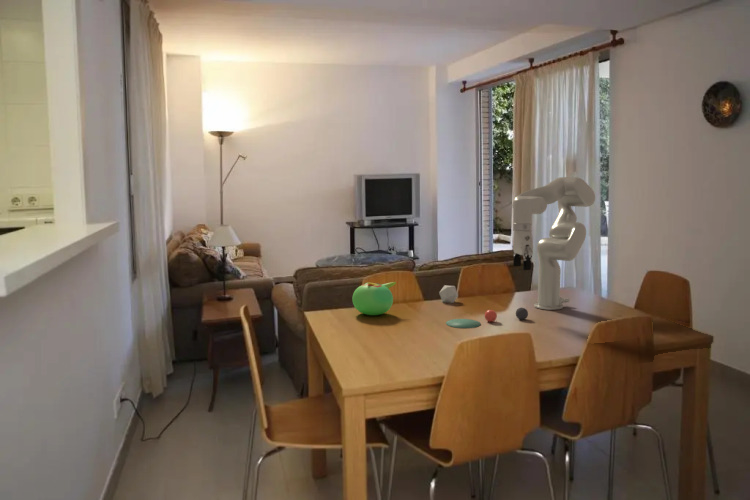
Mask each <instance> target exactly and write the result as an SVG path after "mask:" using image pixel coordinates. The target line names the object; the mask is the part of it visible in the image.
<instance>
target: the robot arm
mask: <svg viewBox="0 0 750 500" xmlns="http://www.w3.org/2000/svg"><path fill="white" fill-rule="evenodd" d="M595 201H596V194H595V191H594V189H593V188H592V187H591V186H590V185H589V184H588V183H587V182H586V180H584V179H582V178H581V177H578V176H575V177H574V176H572V177H571V176H562V177H557V178H555V179H554V180H552V181H550V182H549V183H547V184H544V185H543V186H538V187H536V188H532V189H529V190H526V191H523V192H521V193H519V194H518V195H516V197H515V198H514V199H513V201H512V209H513V210H512V211H513V212H512V213H513V215H512V218H513V219H512V220H513V221H512V231H513V240H512V246H511V247H512V253H513V254H512V257H513V264H512V265H513V266H514V267H520V266H521V265H522V270H523V271H531V269H532V257H533V254H534V245H533V243H534V242H533V234H532V231H533V229H532V228H533V215H540V214H541V215H542V214H543V213H545V212H546V210H547V207H548V205H551V204H555V203H556V202H557V208H558V215H557V216H556V219H555V220H554V222H553V223H552V226H551V227H550V229H549V231H548V232H549V233H548V235H549V236H548V237H545V238H541V239H540V240H539V241H538V242H537V245H536V253H537V258H538V281H537V283H538V284H537V302H535V303H534V304H533V306H534V307H535V308H536V309H540V310H548V311H557V310H562V309H563V308H564V303H570V298H569V297H565V298H564V297H561V271H562V270H561V266H560V264H559V262H558V261H564V262H571V261H573V260H575V258H576V257H577V255H578V254H579V251H580V250H581V248H582V246H583V244H584V242H585V240H586V237H587V229H586V225H584V224H583V223H582V222H577V214H576V212H575V210H574V209H573V207H578V208H579V207H581V208H582V207H583V208H586V207H588V208H589V207H591V206H593V205H594V203H595ZM522 257H523V260H522Z"/></svg>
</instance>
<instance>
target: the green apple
mask: <svg viewBox="0 0 750 500" xmlns="http://www.w3.org/2000/svg"><path fill="white" fill-rule="evenodd" d="M396 284H397V282H396V281H393V282H388V283H387V282H386V283H383V284H380V283H377V282H376V283H375V282H374V283H373V282H365V283H364V284H362V285H359V286H358V287H357V288H356V289H355V290H354V292H353V294H352V298H351V299H352V304H353V305H352V306H354V308H355V309H356V310H357V311H358V312H360V313H362V314H363V315H367V316H381V315H383V314H385V313H387V312H388V311H389V310H390V309H391V308H392V306H393V304H394V296H393V293H392V291H391V290H390V288H391V287H393V286H394V285H396Z"/></svg>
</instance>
